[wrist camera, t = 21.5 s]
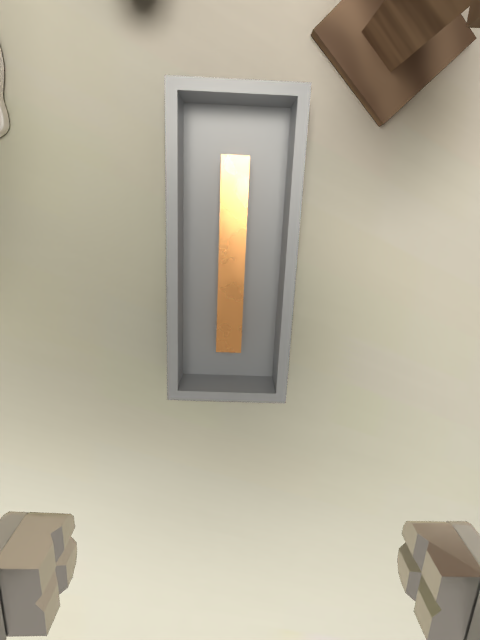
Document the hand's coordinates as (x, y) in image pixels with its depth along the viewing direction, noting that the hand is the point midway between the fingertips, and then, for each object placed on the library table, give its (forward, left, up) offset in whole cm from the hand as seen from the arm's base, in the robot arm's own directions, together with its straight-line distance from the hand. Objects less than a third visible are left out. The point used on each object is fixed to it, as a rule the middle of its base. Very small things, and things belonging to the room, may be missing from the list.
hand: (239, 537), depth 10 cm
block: (+1, +2, -40) cm, 40 cm away
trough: (+1, +2, -41) cm, 41 cm away
